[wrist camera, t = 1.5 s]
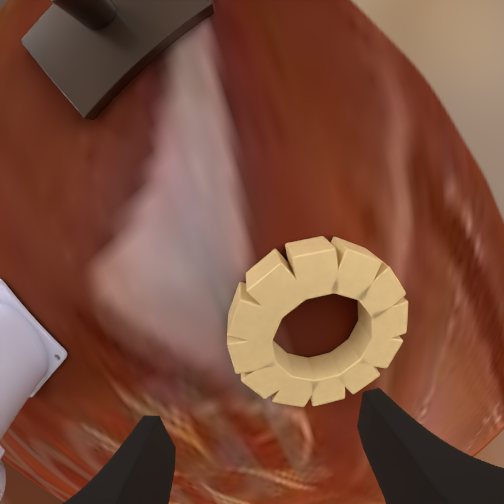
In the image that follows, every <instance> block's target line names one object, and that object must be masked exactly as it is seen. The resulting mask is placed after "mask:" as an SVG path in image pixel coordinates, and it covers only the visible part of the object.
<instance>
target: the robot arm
mask: <svg viewBox="0 0 504 504" xmlns="http://www.w3.org/2000/svg"><path fill="white" fill-rule="evenodd" d="M66 357H67V352H66V350H65V349H64V348H63V347H62V346H61V345H60V344H59V343H58V342H57V341H56V340H55V339H54V338H53V337H52V336H51V335H50V334H49V333H48V332H47V331H46V330H45V329H44V328H43V327H42V326H41V325H40V324H39V323H38V321H37V320H36V319H35V318H34V317H33V316H32V315H31V314H30V313H29V311H28V310H27V309H26V308H25V307H24V306H23V305H22V303H21V302H20V301H19V300H18V299H17V297H16V296H15V295H14V294H13V292H12V291H11V290H10V289H9V287H8V286H7V285H6V284H5V282H4V281H3V280H2V279H0V440H1V439H2V437H3V435H4V434H5V432H6V431H7V429H8V428H9V426H10V425H11V423H12V421H13V420H14V418H15V417H16V415H17V414H18V412H19V411H20V409H21V408H22V407H23V405H24V404H25V402H26V401H27V399H28V398H29V397H33V396H34V395H35V394H36V392H37V391H38V390H39V389H40V388H41V386H42V385H43V384H44V383H45V382H46V380H47V379H48V378H49V377H50V376H51V375H52V373H53V372H54V371H55V370H56V369H57V368H58V367H59V365H60V364H61V363H62V362H63V361H64V360H65V358H66ZM357 427H358V431H359V434H360V438H361V442H362V445H363V448H364V451H365V453H366V456H367V458H368V460H369V463H370V465H371V467H372V470H373V472H374V474H375V476H376V479H377V481H378V483H379V486H380V488H381V490H382V493H383V495H384V498H385V501H386V504H504V468H501V467H498V466H495V465H492V464H489V463H487V462H484V461H481V460H479V459H476V458H474V457H472V456H470V455H468V454H466V453H464V452H462V451H460V450H458V449H456V448H454V447H453V446H451V445H449V444H448V443H446V442H444V441H443V440H441V439H440V438H438V437H437V436H436V435H434V434H433V433H431V432H430V431H429V430H427V429H426V428H425V427H423V426H422V425H421V424H419V423H418V422H417V421H416V420H415V419H413V418H412V417H411V416H410V415H408V414H407V413H406V412H405V411H404V410H403V409H402V408H400V407H399V406H398V405H397V404H396V403H395V402H394V401H393V400H392V399H391V398H390V397H388V396H387V395H386V394H385V393H384V392H383V391H382V390H381V389H380V388H376V389H373V390H369V391H365V392H363V395H362V402H361V408H360V414H359V420H358V425H357ZM175 450H176V447H175V446H174V444H173V442H172V440H171V438H170V436H169V434H168V432H167V430H166V428H165V426H164V424H163V422H162V420H161V418H160V416H143V417H142V419H141V420H140V421H139V423H138V424H137V425H136V427H135V428H134V429H133V431H132V432H131V433H130V435H129V436H128V437H127V439H126V440H125V441H124V443H123V444H122V445H121V447H120V448H119V449H118V450H117V452H116V453H115V454H114V455H113V457H112V458H111V459H110V460H109V461H108V463H107V464H106V465H105V466H104V467H103V468H102V469H101V470H100V471H99V473H98V474H97V475H96V476H95V477H94V478H93V479H92V480H91V481H90V482H89V483H88V484H87V485H86V486H84V487H83V488H82V489H81V490H80V491H79V492H78V493H76V494H75V495H74V496H73V497H71V498H70V499H69V500H67V501H66V502H65V503H63V504H168V503H169V498H170V492H171V487H172V481H173V476H174V470H175ZM4 452H5V450H4V449H3V448H2V446H1V445H0V459H1V458H2V456H3V454H4ZM5 483H6V474H5V469H4V466H3V463H2V462H1V460H0V501H1V499H2V497H3V494H4V490H5Z"/></svg>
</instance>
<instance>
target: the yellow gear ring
mask: <svg viewBox="0 0 504 504" xmlns="http://www.w3.org/2000/svg"><path fill="white" fill-rule="evenodd" d="M285 247H286V253H287V259H288V262H287V260H286V259H285V258H284V257H283V256H282V255H281V254H280V253H279V252H278V250H277V249H274V250H273V251H271V252H270V253H269V254H268V255H267V256H265V257H264V258H263V259H262V260H261V261H260V262H258V263H257V264H256V265H255V266H254V267H252V268H251V269H250V270H249V271H248V272H246V283H243V282H239V284H238V287H237V290H236V293H235V296H234V298H233V301H232V304H231V307H230V310H229V313H228V327H227V347H228V350H229V354H230V357H231V360H232V363H233V366H234V370H235V373H236V374H239V373H241V381H242V382H243V383H244V384H246V385H247V386H248V387H249V388H251V389H252V390H253V391H255V392H256V393H257V394H259V395H260V396H261V397H263V398H264V399H266V398H267V397H269V396H271V395H272V400H273V402H275V403H281V404H287V405H294V406H301V407H304V406H305V405H306V403H307V402H308V400H309V398H311V402H312V405H313V406H317V405H321V404H325V403H329V402H333V401H337V400H340V399H344V398H345V387H346V388H347V389H348V390H349V391H350V392H351V393H352V394H355V393H356V392H357V391H359V390H360V389H362V388H363V387H365V386H366V385H367V384H369V383H370V382H372V381H373V380H374V379H376V378H377V377H378V376H380V373H379V372H378V370H377V368H376V367H381V368H387V367H388V365H389V364H390V362H391V361H392V359H393V357H394V356H395V354H396V352H397V351H398V349H399V347H400V346H401V344H402V342H403V340H402V339H401V338H400V336H399V335H402V334H405V333H406V331H407V317H408V301H407V300H406V299H405V298H404V297H403V296H404V295H406V292H405V291H404V289H403V287H402V286H401V284H400V282H399V281H398V279H397V278H396V276H395V275H394V273H393V271H392V270H391V268H390V267H389V266H388V265H386V264H385V263H384V262H383V261H381V260H380V259H379V258H377V257H376V256H375V255H374V254H372V253H371V252H370V251H368V250H367V249H366V248H364V247H361V246H359V245H356V244H353V243H350V242H348V241H345V240H342V239H339V238H337V237H333V238H332V241H331V243H330V242H329V241H328V240H327V239H326V238H325V237H324V236H320V237H315V238H310V239H305V240H300V241H295V242H290V243H286V244H285ZM332 293H335V294H338V295H342V296H345V297H349V298H352V299H356V300H357V301H358V322H357V324H356V325H355V327H354V329H353V331H352V333H351V335H350V337H349V339H347V340H346V341H345V342H344V343H342V344H341V345H340V346H338V347H337V348H336V349H334V350H333V351H332V352H330V353H326V354H322V355H318V356H314V357H309V358H307V357H302V356H297V355H293V354H288V353H286V352H285V351H284V350H283V349H282V348H281V347H280V346H279V345H278V344H276V343H275V342H274V341H273V338H274V336H275V333H276V331H277V329H278V327H279V324H280V322H281V320H282V318H283V317H284V316H285V315H287V314H288V313H289V312H290V311H292V310H293V309H294V308H296V307H297V306H298V305H299V304H301V303H302V302H303V301H304V300H306V299H310V298H315V297H319V296H324V295H328V294H332Z"/></svg>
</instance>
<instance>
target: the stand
mask: <svg viewBox="0 0 504 504" xmlns="http://www.w3.org/2000/svg"><path fill="white" fill-rule="evenodd" d="M50 1H51V2H53V3H54V4H53V5H52V6H51V7H50V8H49V9H48V10H47V11H46V12H45V13H44V14H43V16H42V17H41V18H40V19H39V20H38V21H37V22H36V23H35V24H34V26H33V27H32V28H31V29H30V30H29V31H28V33H27V34H26V35H25V36H24V38H23V39H22V40H21V43H22V44H23V45H24V47H25V48H26V49H27V50H28V52H29V53H30V54H31V55H32V57H33V58H34V59H35V60H36V61H37V63H38V64H39V65H40V66H41V68H42V69H43V70H44V71H45V72H46V74H47V75H48V76H49V77H50V79H51V80H52V81H53V82H54V83H55V85H56V86H57V87H58V88H59V89H60V90H61V92H62V93H63V94H64V95H65V96H66V98H67V99H68V100H69V101H70V102H71V103H72V105H73V106H74V107H75V108H76V109H77V111H78V112H79V113H80V114H81V115H82V116H83V117H84V118H86V119H91V120H94V119H95V118H96V117H97V116H98V114H99V113H100V112H101V111H102V110H103V109H104V108H105V107H106V106H107V105H108V103H109V102H110V101H111V100H112V99H113V98H114V97H115V96H116V95H117V94H118V93H119V92H120V91H121V90H122V89H123V88H124V87H125V86H126V85H127V84H128V83H129V82H130V81H131V80H132V79H133V78H134V77H135V76H136V75H137V74H138V73H139V72H140V71H141V70H143V69H144V68H145V67H146V66H147V65H148V64H149V63H150V62H151V61H152V60H154V59H155V58H156V57H157V56H158V55H159V54H160V53H162V52H163V51H164V50H165V49H166V48H168V47H169V46H170V45H171V44H172V43H174V42H175V41H176V40H177V39H179V38H180V37H181V36H183V35H184V34H185V33H186V32H188V31H189V30H190V29H192V28H193V27H194V26H196V25H197V24H198V23H200V22H201V21H203V20H204V19H205V18H207V17H208V16H210V15H211V14H213V13H214V10H213V5H212V3H211V2H210V1H209V0H50Z"/></svg>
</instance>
